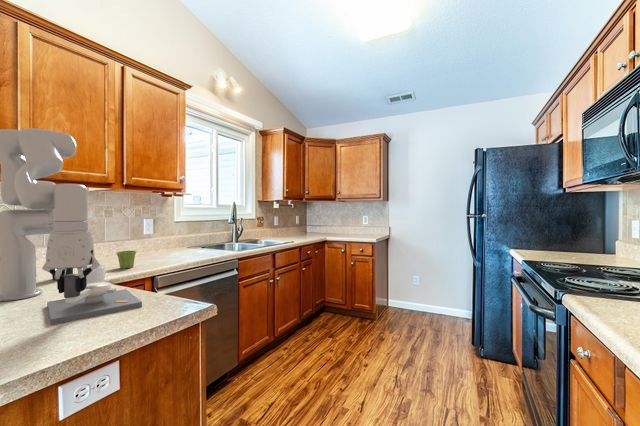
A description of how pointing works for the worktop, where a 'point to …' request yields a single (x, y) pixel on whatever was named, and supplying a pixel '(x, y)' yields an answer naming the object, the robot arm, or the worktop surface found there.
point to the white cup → (96, 275)
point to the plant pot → (126, 259)
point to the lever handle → (89, 291)
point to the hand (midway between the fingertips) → (72, 290)
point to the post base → (91, 306)
